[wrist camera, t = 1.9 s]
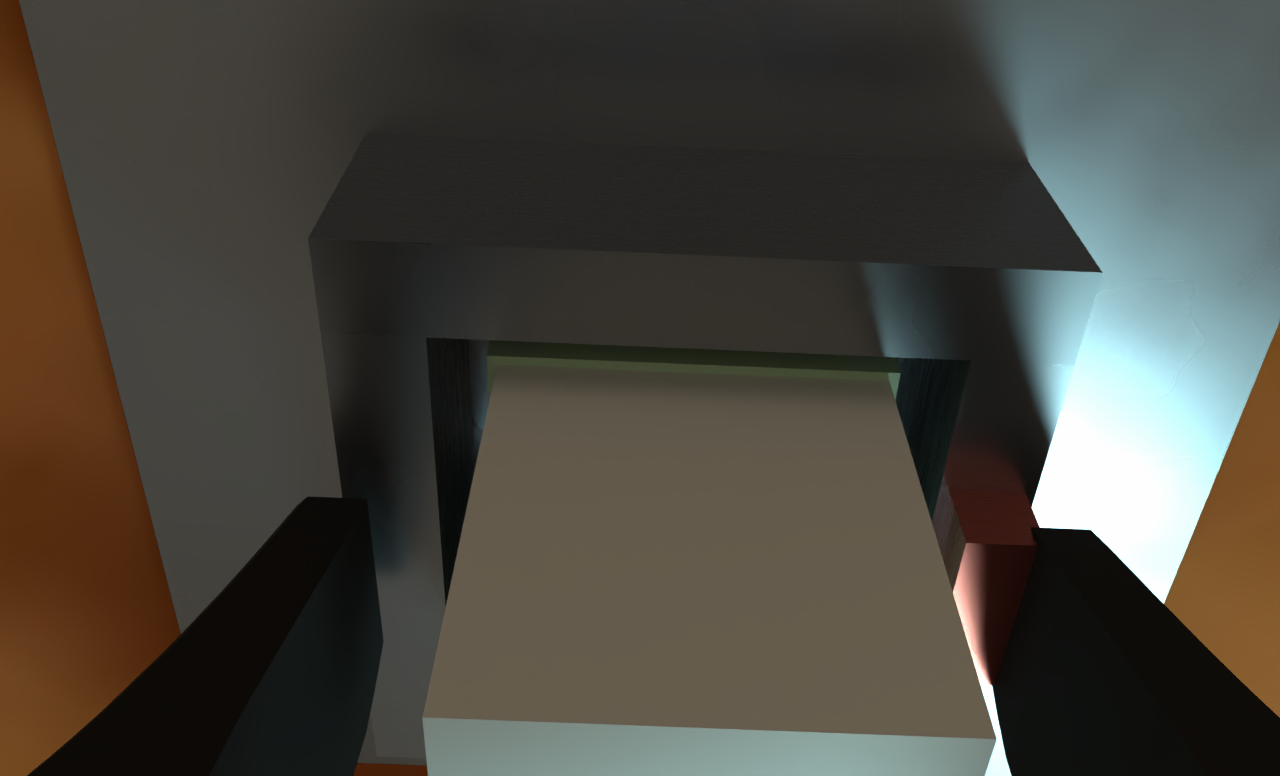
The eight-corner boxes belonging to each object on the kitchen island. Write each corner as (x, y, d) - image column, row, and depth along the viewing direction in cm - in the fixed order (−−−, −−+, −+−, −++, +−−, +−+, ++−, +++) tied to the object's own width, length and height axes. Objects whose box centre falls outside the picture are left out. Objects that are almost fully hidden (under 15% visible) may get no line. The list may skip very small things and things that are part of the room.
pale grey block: (822, 549, 16) (908, 1040, 10) (514, 537, 16) (440, 1024, 10) (870, 278, 13) (1014, 730, 8) (508, 262, 13) (407, 708, 8)
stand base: (1068, 740, 19) (1161, 995, 16) (232, 708, 19) (134, 959, 16) (1420, -180, 12) (1760, -85, 8) (9, -251, 11) (-289, -184, 8)
